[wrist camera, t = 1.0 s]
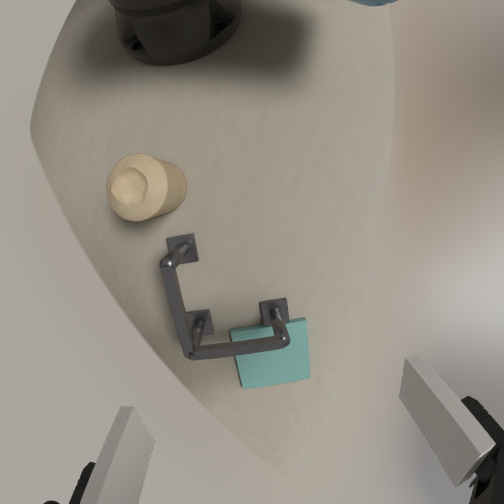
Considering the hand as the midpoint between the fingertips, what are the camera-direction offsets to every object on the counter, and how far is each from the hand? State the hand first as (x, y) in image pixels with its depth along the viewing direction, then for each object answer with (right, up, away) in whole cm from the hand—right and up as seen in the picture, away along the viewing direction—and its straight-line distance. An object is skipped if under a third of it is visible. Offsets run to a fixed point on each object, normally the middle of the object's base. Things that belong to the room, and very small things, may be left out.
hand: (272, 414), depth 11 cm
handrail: (-3, +4, +20) cm, 21 cm away
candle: (-11, +14, +18) cm, 25 cm away
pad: (+2, -5, +22) cm, 23 cm away
